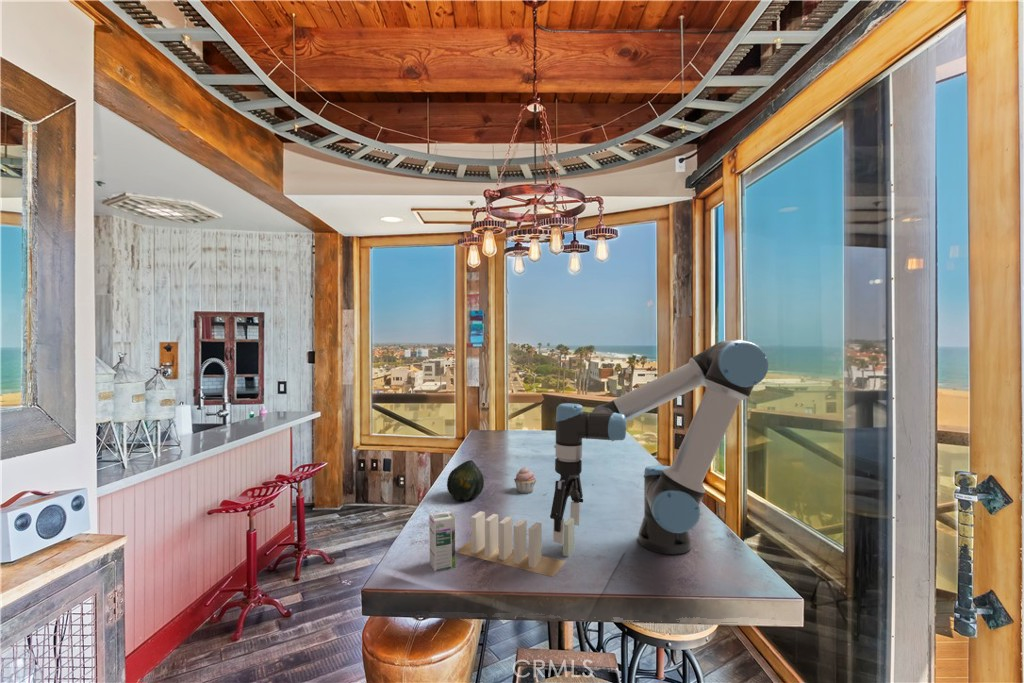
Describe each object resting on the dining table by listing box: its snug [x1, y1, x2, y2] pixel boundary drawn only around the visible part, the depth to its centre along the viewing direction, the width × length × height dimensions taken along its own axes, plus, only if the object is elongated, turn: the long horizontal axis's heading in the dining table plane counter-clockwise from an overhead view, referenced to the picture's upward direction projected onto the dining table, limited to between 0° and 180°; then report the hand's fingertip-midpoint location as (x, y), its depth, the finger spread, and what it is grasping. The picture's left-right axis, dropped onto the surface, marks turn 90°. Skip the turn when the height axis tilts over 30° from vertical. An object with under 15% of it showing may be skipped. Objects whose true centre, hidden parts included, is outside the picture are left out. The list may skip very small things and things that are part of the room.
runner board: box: [455, 540, 566, 578], centre depth 125 cm, size 30×9×1 cm, turn 63°
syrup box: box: [428, 510, 456, 572], centre depth 121 cm, size 6×6×14 cm
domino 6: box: [562, 517, 575, 557], centre depth 128 cm, size 2×5×10 cm, turn 153°
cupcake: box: [513, 466, 537, 494], centre depth 184 cm, size 9×9×10 cm
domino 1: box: [470, 510, 486, 553], centre depth 130 cm, size 2×5×10 cm, turn 153°
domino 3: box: [498, 516, 513, 560], centre depth 126 cm, size 2×5×10 cm, turn 153°
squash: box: [446, 459, 485, 502], centre depth 177 cm, size 14×15×15 cm
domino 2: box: [485, 513, 499, 557], centre depth 128 cm, size 2×5×10 cm, turn 153°
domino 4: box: [512, 518, 528, 564], centre depth 124 cm, size 2×5×10 cm, turn 153°
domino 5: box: [528, 521, 543, 568], centre depth 122 cm, size 2×5×10 cm, turn 153°
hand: (567, 533), depth 128 cm, fingers open, 13 cm apart
